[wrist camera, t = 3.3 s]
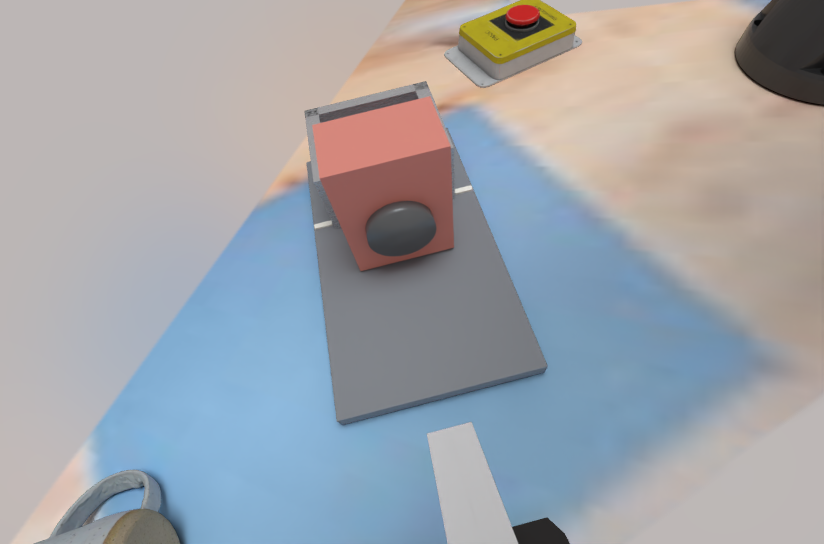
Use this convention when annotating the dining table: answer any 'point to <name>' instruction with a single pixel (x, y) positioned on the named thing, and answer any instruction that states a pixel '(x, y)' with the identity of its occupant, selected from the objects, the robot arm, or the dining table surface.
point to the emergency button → (511, 41)
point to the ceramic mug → (116, 516)
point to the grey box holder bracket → (355, 108)
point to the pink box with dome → (389, 181)
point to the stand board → (421, 317)
